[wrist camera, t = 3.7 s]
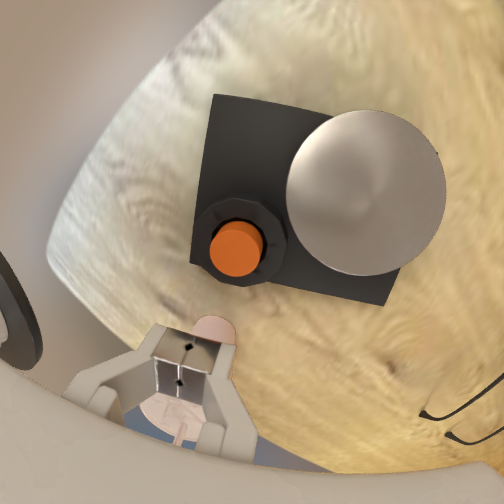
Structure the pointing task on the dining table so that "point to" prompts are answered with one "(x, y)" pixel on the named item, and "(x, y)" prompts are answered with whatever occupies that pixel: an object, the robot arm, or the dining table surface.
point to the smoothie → (180, 411)
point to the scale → (265, 198)
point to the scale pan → (365, 192)
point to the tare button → (236, 248)
